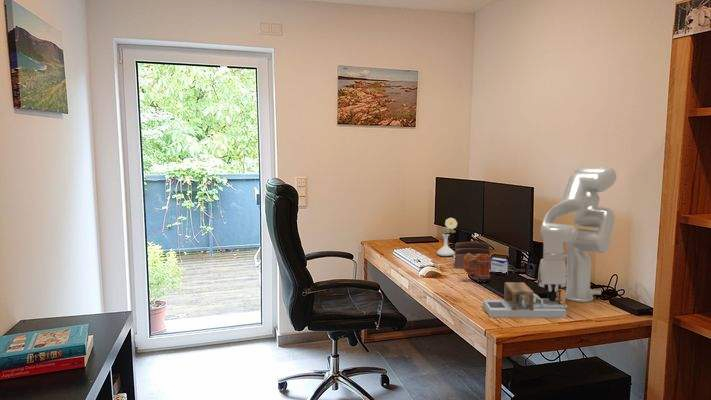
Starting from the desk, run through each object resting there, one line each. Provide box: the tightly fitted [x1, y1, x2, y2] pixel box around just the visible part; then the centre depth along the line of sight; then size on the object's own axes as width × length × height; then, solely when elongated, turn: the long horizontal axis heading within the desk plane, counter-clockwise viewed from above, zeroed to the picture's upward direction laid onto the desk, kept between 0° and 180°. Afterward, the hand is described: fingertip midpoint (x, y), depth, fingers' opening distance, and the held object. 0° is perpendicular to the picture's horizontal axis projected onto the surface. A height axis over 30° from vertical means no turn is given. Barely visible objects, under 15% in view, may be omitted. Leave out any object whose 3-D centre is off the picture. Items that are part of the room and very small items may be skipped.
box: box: [490, 257, 509, 273], centre depth 244 cm, size 8×4×9 cm, turn 51°
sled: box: [516, 288, 568, 309], centre depth 185 cm, size 18×8×6 cm, turn 86°
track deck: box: [482, 299, 567, 319], centre depth 186 cm, size 30×13×3 cm, turn 86°
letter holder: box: [454, 241, 492, 270], centre depth 260 cm, size 10×20×14 cm, turn 79°
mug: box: [462, 253, 492, 280], centre depth 229 cm, size 15×8×15 cm, turn 92°
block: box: [520, 293, 536, 304], centre depth 185 cm, size 5×5×5 cm
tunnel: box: [503, 281, 535, 310], centre depth 185 cm, size 8×13×8 cm, turn 176°
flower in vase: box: [436, 217, 458, 257], centre depth 289 cm, size 13×11×25 cm
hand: (551, 300), depth 184 cm, fingers closed
